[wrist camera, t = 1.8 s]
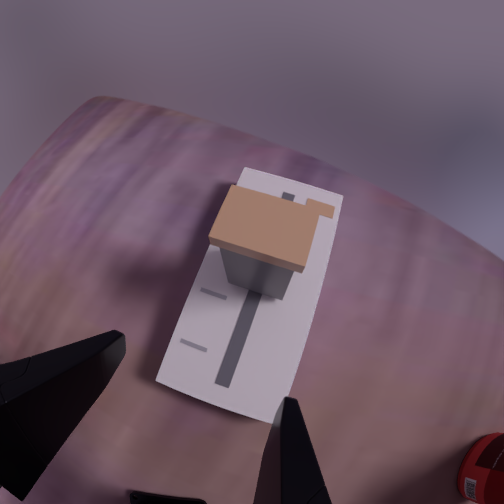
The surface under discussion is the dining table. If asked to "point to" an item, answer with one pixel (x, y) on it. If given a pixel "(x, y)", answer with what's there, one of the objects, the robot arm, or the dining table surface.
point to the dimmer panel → (250, 319)
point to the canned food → (484, 471)
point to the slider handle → (263, 239)
